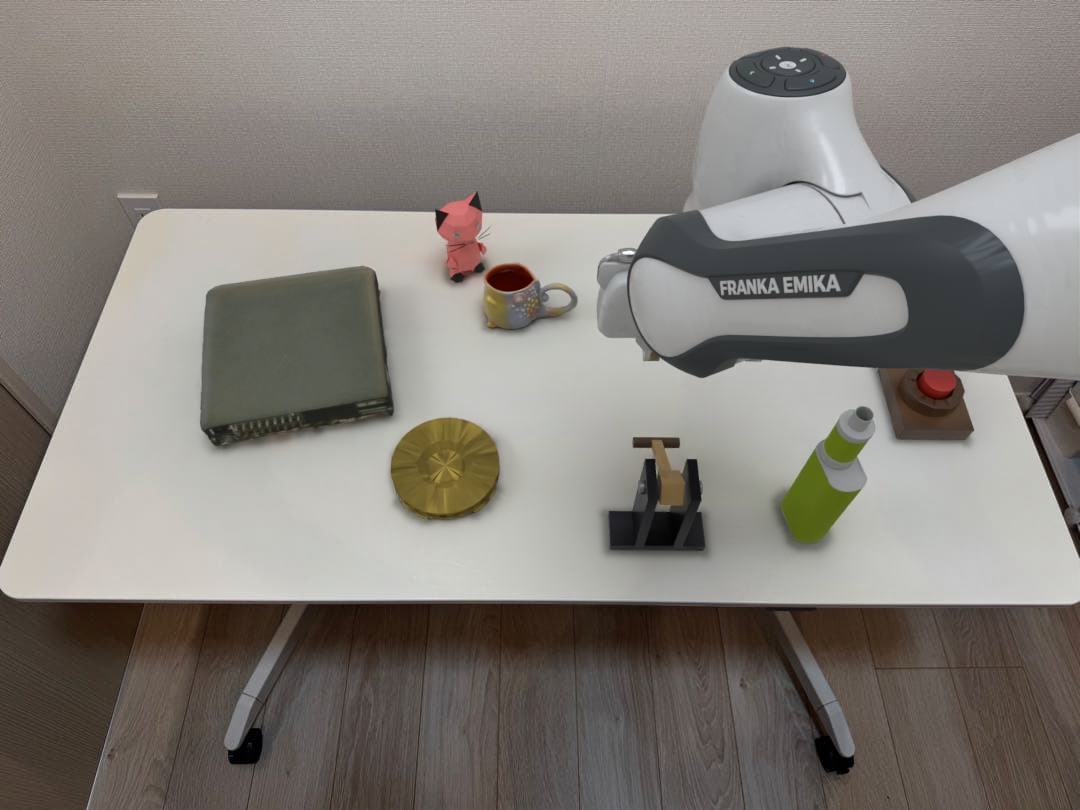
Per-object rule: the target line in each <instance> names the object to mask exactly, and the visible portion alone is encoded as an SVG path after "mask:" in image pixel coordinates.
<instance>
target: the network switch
mask: <svg viewBox="0 0 1080 810" xmlns="http://www.w3.org/2000/svg"><path fill="white" fill-rule="evenodd" d="M379 287H380V285H379V281H378V275H377V272H376V270H374V269H373V268H371V267H369V266H365V265H359V266H349V267H343V268H335V269H327V270H318V271H311V272H305V273H303V272H302V273H297V274H289V275H282V276H273V277H266V278H259V279H254V280H252V279H251V280H246V281H245V280H244V281H240V282H233V283H232V282H231V283H230V282H229V283H225V284H219V285H216V286H213V287H212V288H211V289H209V290H207V293H206V294H205V305H204V313H203V314H204V315H203V316H204V317H203V331H202V332H203V333H202V339H203V340H202V352H201V354H202V355H201V360H202V361H201V377H200V378H201V388H200V389H201V392H200V406H199V407H200V418H199V426H200V430H201V431H202V432H203V433H204V434H205V436H207V438H208V440H209V441H210V442H211V444H213V445H214V446H215V447H221V446H223V445H229V444H235V443H240V442H247V441H251V440H256V439H260V438H268V437H274V436H275V437H276V436H281V435H287V434H292V433H294V432H299V431H303V430H308V429H314V430H315V429H319V428H321V427H322V428H323V427H331V426H337V425H340V424H346V423H352V422H357V421H359V420H364V419H370V418H375V417H379V416H382V415H389V416H390V417H392V416H393V415H394V412H395V408H394V399H393V392H392V385H391V378H390V375H389V367H388V354H387V353H388V352H387V346H386V340H385V332H384V327H383V326H384V325H383V316H382V315H383V314H382V308H381V299H380V295H381V294H382V293H381V292H382V291H381V290H380V289H379Z"/></svg>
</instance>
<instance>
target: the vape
mask: <svg viewBox="0 0 1080 810" xmlns="http://www.w3.org/2000/svg"><path fill="white" fill-rule="evenodd" d="M874 417H875V415H874V412H873V410H872V409H871V408H869V407H867V406H865V405H861V406H860V405H859V406H858V407H856V408H854V409H847V410H845V411H843V412H842V413H841V414H840V416H839V418H837V421H836V423H835V425H833V428H832V429H831V431H830V432H829V433H828V435H827V437H826V438H824V439H822V440H820V441H819V442H817V444H816V446H815V447H814V449H813V451H812V452H811V454H810V455H809V457H808V459H807V460H806V462H805V463H804V465H803V467H802V468H801V470H800V472H799V473H798V474H797V476H796V478H795V479H794V481H793V482H792V484H791V486H790V487H789V490H788V491H787V493H785V495H784V497H783V498H782V500H781V502H780V509H781V512H782V515H783V517H784V519H785V522H786V524H787V528H788V529H789V532H790V535H791V537H792V539H794V540H795V541H796V542H798V543H801V544H806V545H807V544H809V545H811V544H815V543H818V542H820V541H822V539H823V538H824V537H825V535H826V534H827V533H828V532H829V531H830V529H831V528H832V527H833V526H834V525H835V524H836V522H837V521H838V520H839V518H840V517H841V516H842V514H843V513H844V512H845V511H846V509H847V508H848V507H849V506H850V505H851V503H852V502H853V501H854V500H855V498H856V497H857V496H858V495H859V493H860V492H861V491H862V490H863V489H864V487H865V486H866V485H867V482H868V476H867V474H866V471H865V470H864V468H863V465H862V463H861V460H860V459H859V454H860V453H861V452H862V450H863V449H864V448H865V446H866V445H867V443H869V441H870V440H871V439H872V437H873V436H874V434H875V433H876V423H875V421H874Z"/></svg>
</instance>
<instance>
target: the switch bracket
mask: <svg viewBox="0 0 1080 810" xmlns="http://www.w3.org/2000/svg"><path fill="white" fill-rule="evenodd" d="M681 474H682V477H683V480H684V482H685V489H684V500H683V505H682V506H681V505H669V509H668V511H662V510H661V511H660V510H659V511H657V510H656V509H657V507H658V503H659V498H658V486H657V466H656V462H655V458H654V457H652V458H651V457H650V458H649V457H645V458H644V461H643V465H642V469H641V474H640V477H639V479H638V481H637V489H636V492H635V497H634V500H633V505H632V509H631V510H608V515H607V519H608V520H607V521H608V524H607V525H608V545H609V546H608V547H609V548H608V549H609V550H610V551H689V552H690V551H692V552H693V551H694V552H695V551H696V552H697V551H698V552H702V551H705V548H706V540H705V532H704V523H703V513H702V511H698V510H699V508H700V505H701V504H702V501H703V498H702V495H703V492H704V484H703V483H704V482H703V481H702V480H700V472H699V463H698V459H697V458H687V459H686V461H685V463H684V466H683V469H682V471H681Z"/></svg>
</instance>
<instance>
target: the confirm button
mask: <svg viewBox="0 0 1080 810" xmlns="http://www.w3.org/2000/svg"><path fill="white" fill-rule="evenodd" d="M955 386H956V378H955V376H954V374H953V373H952V372H951V371H947V370H929V369H926V370H925V371H924V372H923V374H922V375H921V376H920V378H919V379H918V387H919V389H920V391H921V392H922V393H923V394H924V395H925V396H927V397H929V398H932V399H943V398H945V397H947V396H948V395H949V394H950V392H951V391H952V390H953V389H954V387H955Z"/></svg>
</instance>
